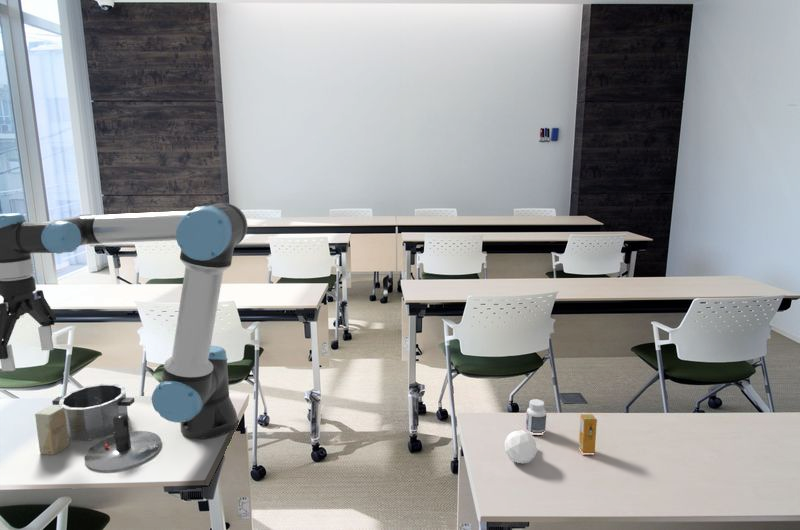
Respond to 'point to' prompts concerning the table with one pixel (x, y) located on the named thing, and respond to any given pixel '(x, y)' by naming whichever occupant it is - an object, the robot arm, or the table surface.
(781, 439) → the table surface
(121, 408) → the pot
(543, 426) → the pill bottle
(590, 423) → the supplement box
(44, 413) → the box
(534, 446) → the white faceted ovoid
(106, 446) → the lid
